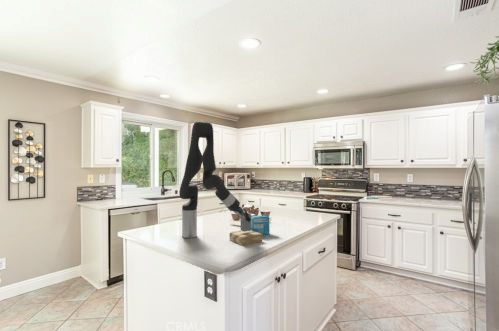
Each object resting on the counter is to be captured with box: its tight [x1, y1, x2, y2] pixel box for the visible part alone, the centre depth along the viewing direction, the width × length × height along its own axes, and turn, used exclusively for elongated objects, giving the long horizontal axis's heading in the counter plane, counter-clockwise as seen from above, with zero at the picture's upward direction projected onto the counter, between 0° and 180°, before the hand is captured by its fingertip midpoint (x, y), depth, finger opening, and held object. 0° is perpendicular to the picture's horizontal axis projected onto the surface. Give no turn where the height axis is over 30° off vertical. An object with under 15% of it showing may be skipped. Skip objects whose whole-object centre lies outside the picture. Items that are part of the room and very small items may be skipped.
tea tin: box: [240, 212, 252, 232], centre depth 160 cm, size 4×4×10 cm
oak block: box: [229, 230, 263, 247], centre depth 160 cm, size 14×14×5 cm
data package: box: [251, 215, 270, 236], centre depth 176 cm, size 12×4×12 cm, turn 108°
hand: (247, 219), depth 161 cm, fingers closed on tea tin, 4 cm apart
